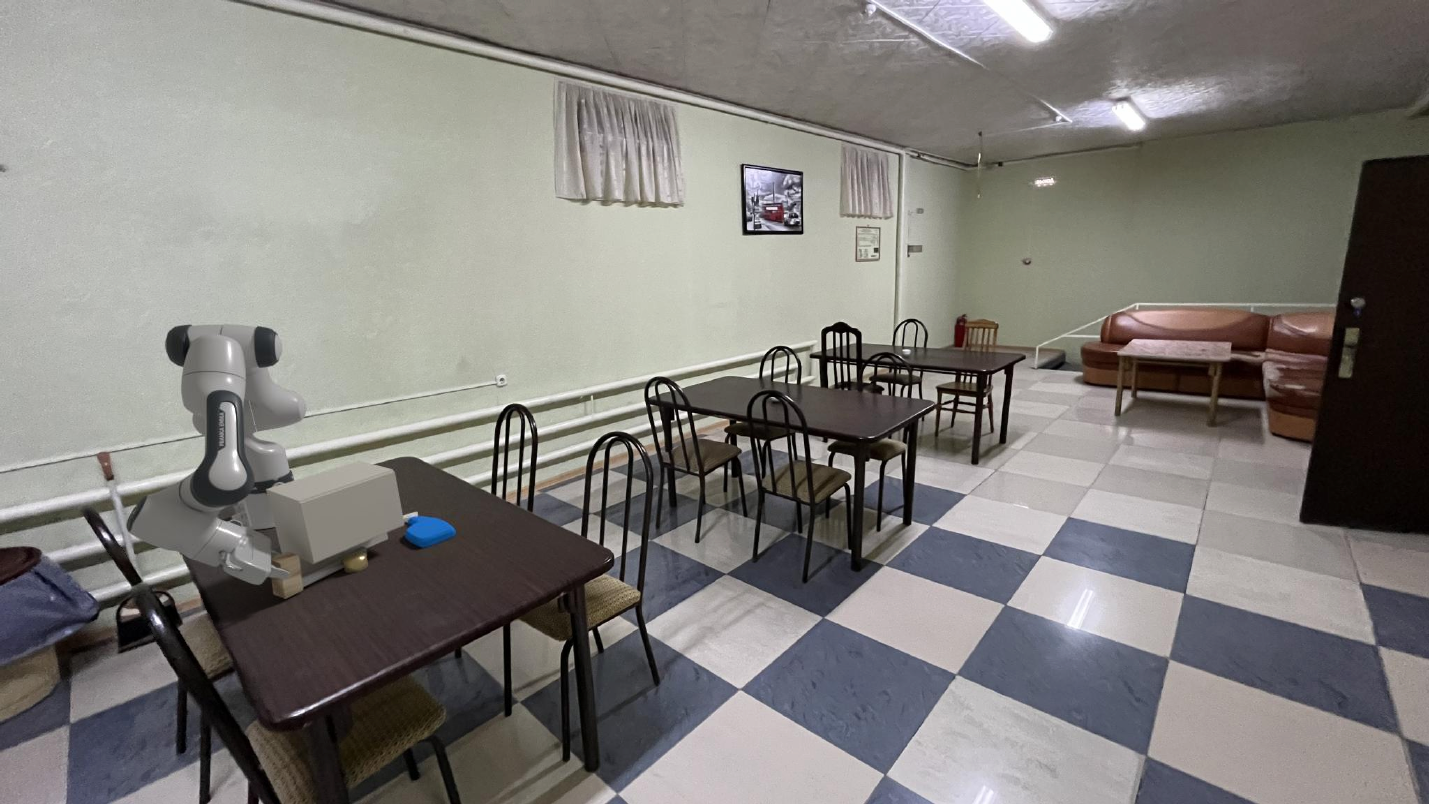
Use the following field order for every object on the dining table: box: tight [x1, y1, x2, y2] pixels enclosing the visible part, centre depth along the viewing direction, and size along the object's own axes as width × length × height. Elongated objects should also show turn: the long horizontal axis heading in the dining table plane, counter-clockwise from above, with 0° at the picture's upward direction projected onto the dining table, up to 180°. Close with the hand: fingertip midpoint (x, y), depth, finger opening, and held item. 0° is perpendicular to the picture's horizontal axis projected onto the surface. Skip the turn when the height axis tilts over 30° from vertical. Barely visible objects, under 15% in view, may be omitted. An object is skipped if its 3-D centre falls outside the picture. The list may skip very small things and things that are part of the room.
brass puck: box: [343, 552, 369, 574], centre depth 141 cm, size 5×5×3 cm
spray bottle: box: [403, 511, 456, 549], centre depth 161 cm, size 3×11×24 cm
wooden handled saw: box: [270, 546, 368, 600], centre depth 137 cm, size 4×21×9 cm, turn 158°
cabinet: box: [266, 460, 405, 574], centre depth 144 cm, size 17×22×22 cm
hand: (287, 569), depth 129 cm, fingers closed on wooden handled saw, 5 cm apart
